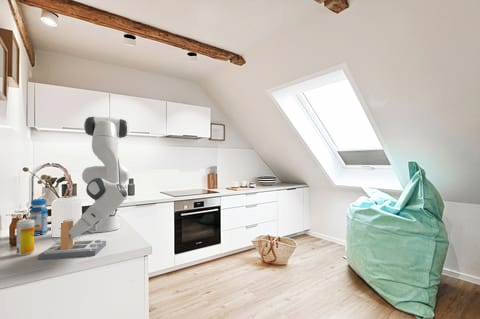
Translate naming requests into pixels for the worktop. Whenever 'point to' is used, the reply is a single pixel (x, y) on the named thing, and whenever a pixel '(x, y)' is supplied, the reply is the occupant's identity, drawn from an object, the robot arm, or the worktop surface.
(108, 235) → the worktop surface
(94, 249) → the gray compartment tray
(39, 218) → the blue bottle
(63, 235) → the tan wooden block
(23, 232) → the yellow cylinder
